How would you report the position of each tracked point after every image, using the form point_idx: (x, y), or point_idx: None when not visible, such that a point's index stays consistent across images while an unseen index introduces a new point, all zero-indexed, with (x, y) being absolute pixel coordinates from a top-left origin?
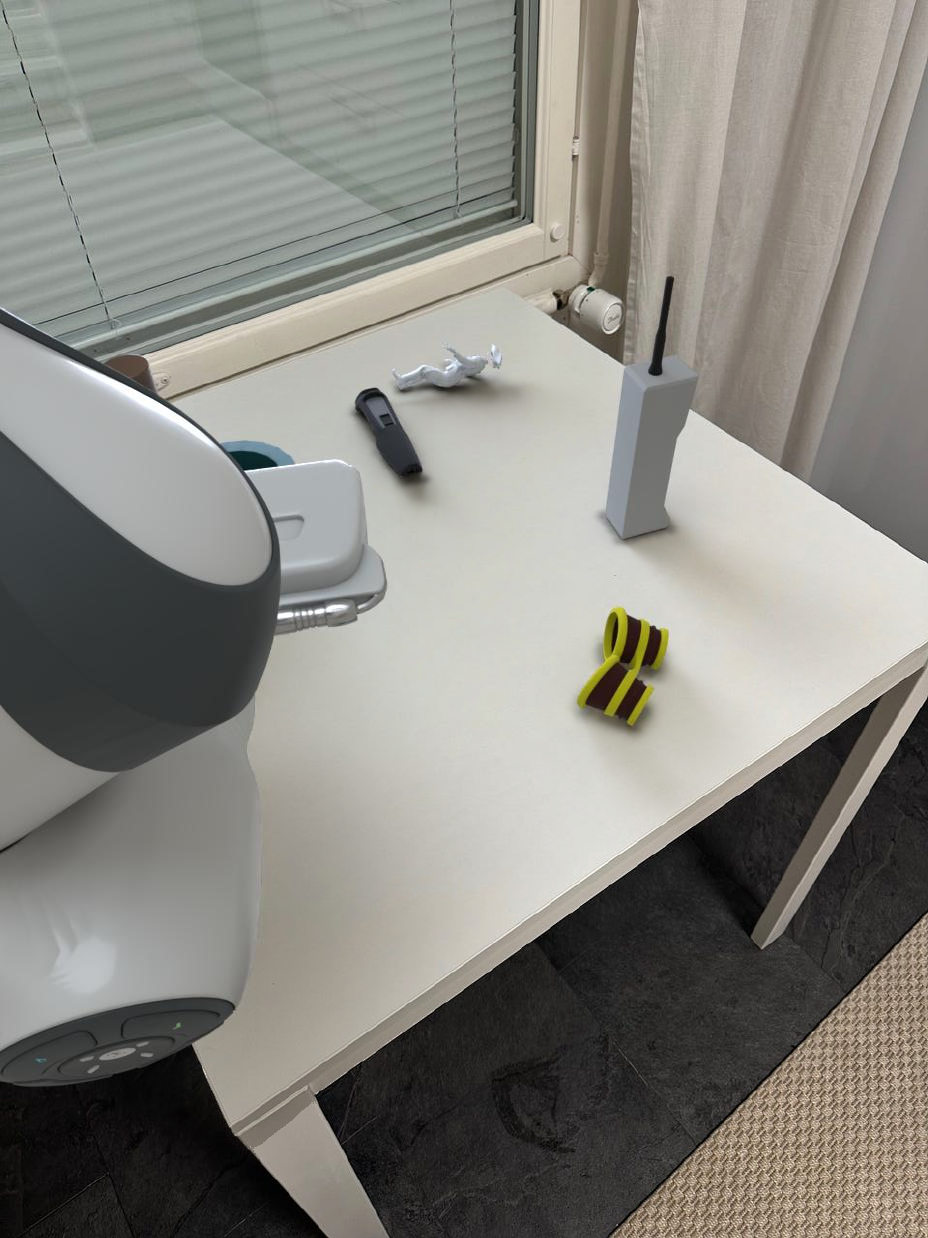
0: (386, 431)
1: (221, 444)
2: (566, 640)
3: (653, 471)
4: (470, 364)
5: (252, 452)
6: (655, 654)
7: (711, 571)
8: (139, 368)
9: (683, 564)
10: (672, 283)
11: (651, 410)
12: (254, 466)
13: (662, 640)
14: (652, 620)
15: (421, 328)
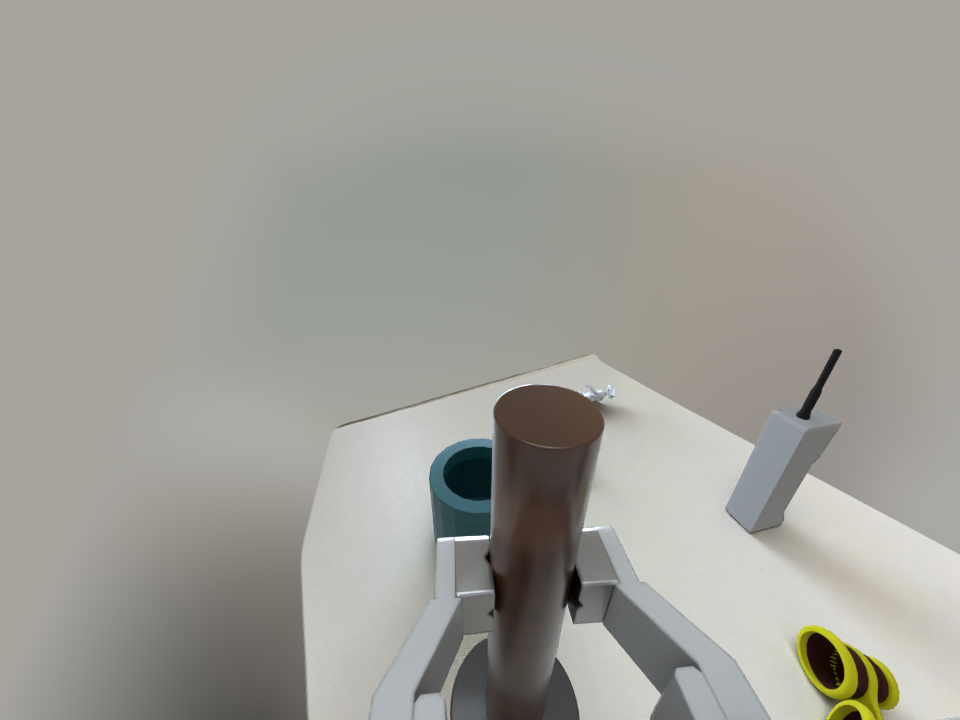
0: None
1: (469, 440)
2: (756, 644)
3: (787, 488)
4: (599, 395)
5: (491, 448)
6: (885, 696)
7: (843, 575)
8: (586, 419)
9: (814, 564)
10: (840, 354)
11: (804, 445)
12: (490, 457)
13: (891, 681)
14: (825, 628)
15: (558, 373)
